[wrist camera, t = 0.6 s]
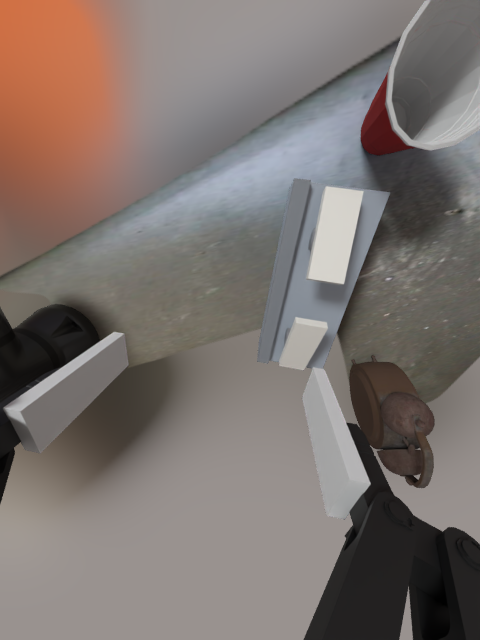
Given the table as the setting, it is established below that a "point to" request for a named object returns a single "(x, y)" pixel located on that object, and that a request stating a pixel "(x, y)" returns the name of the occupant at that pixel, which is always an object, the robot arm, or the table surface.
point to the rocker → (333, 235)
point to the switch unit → (292, 265)
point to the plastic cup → (429, 82)
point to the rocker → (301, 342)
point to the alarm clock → (393, 419)
